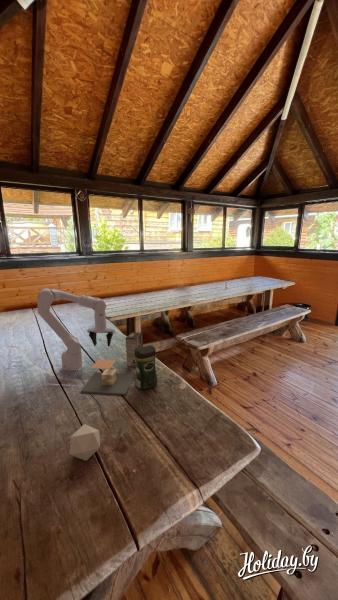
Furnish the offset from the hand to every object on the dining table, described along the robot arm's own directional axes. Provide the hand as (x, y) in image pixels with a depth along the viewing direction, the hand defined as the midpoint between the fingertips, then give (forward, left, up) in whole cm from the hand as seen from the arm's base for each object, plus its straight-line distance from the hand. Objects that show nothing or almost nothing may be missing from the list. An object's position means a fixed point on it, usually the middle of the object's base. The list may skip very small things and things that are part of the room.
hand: (102, 345), depth 133 cm
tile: (+2, -4, -9) cm, 10 cm away
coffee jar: (+28, -20, -10) cm, 36 cm away
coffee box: (+18, 0, -10) cm, 20 cm away
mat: (+11, -21, -9) cm, 26 cm away
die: (+17, -59, -10) cm, 62 cm away
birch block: (+11, -21, -9) cm, 25 cm away
